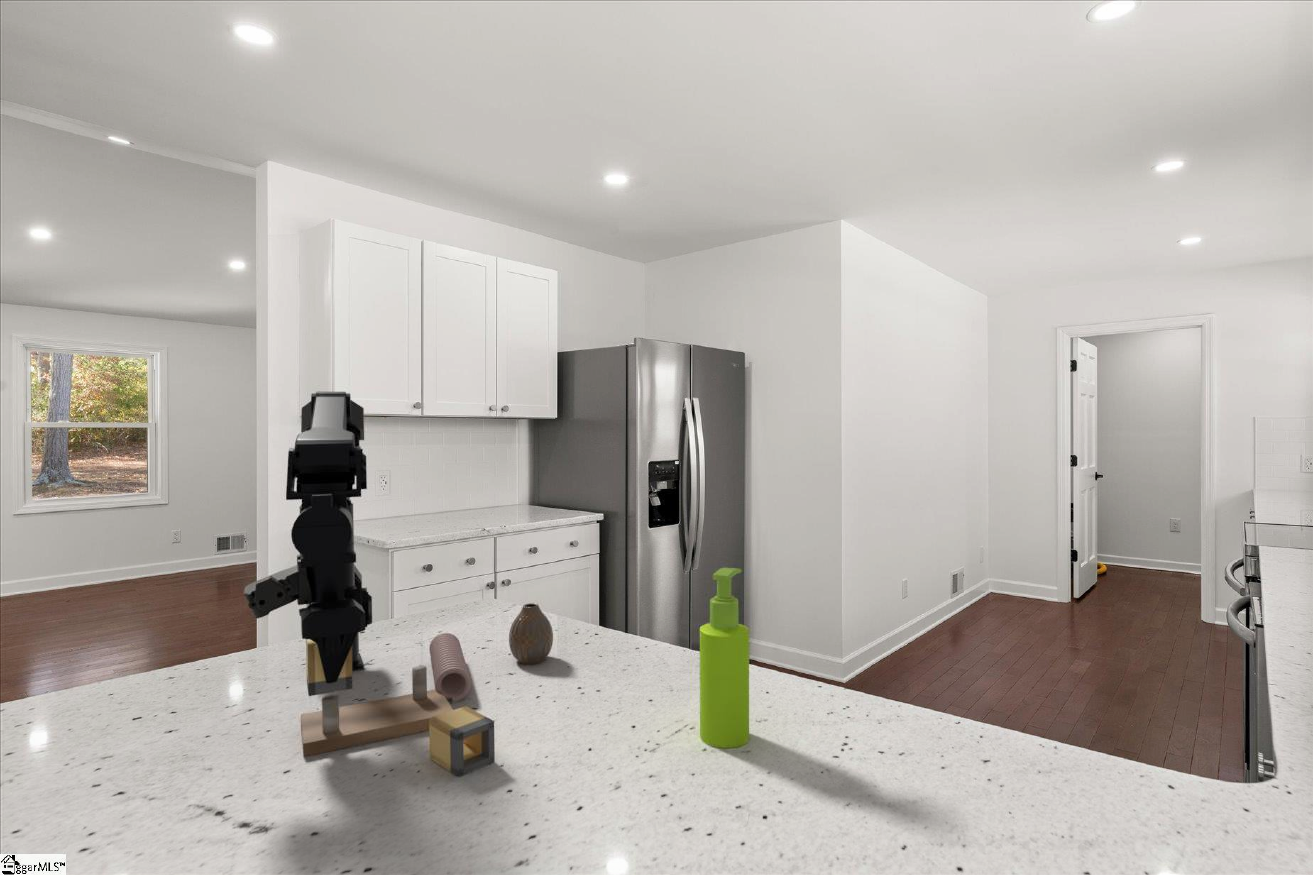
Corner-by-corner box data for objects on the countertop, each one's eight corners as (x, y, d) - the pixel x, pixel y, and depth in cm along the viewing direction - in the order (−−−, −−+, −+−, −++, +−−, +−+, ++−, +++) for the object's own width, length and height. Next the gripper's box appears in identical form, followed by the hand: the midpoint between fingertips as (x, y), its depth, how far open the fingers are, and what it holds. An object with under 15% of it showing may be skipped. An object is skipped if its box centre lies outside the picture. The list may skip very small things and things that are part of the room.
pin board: (300, 726, 87) (299, 682, 87) (440, 699, 96) (439, 659, 95) (303, 756, 80) (302, 708, 79) (455, 724, 88) (454, 681, 88)
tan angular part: (457, 734, 75) (429, 718, 79) (458, 777, 75) (429, 758, 79) (494, 720, 78) (465, 705, 82) (494, 761, 78) (465, 744, 82)
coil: (472, 669, 95) (461, 631, 112) (437, 669, 94) (430, 631, 111) (469, 703, 95) (458, 660, 112) (433, 704, 94) (427, 660, 110)
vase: (560, 655, 113) (560, 601, 113) (540, 669, 107) (539, 612, 107) (523, 650, 116) (522, 598, 115) (500, 664, 109) (500, 609, 109)
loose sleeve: (348, 675, 86) (347, 627, 86) (352, 688, 82) (351, 637, 82) (306, 682, 84) (305, 633, 83) (308, 696, 80) (307, 644, 79)
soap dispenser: (757, 727, 86) (757, 566, 86) (740, 752, 80) (739, 578, 80) (713, 719, 89) (712, 563, 88) (692, 742, 83) (692, 574, 82)
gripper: (250, 538, 86) (253, 662, 87) (245, 566, 70) (248, 720, 71) (348, 530, 92) (350, 648, 92) (364, 555, 75) (367, 698, 76)
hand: (329, 675), depth 83 cm, fingers closed on loose sleeve, 5 cm apart
